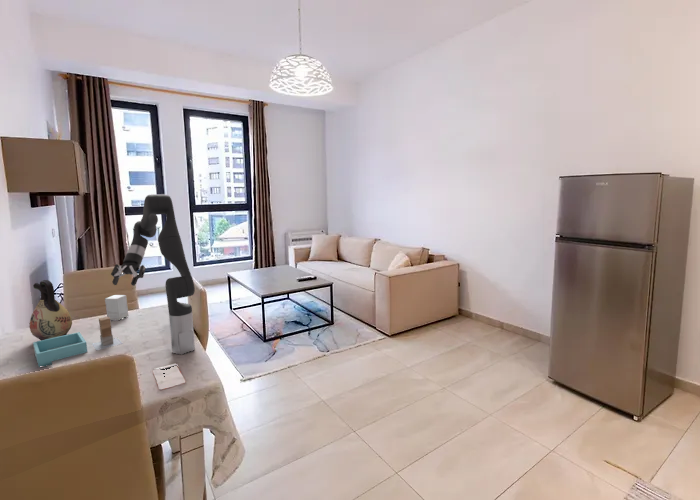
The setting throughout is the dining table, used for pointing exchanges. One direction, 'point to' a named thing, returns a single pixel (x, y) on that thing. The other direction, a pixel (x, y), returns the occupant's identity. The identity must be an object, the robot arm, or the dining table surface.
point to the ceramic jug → (49, 314)
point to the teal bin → (62, 352)
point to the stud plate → (99, 346)
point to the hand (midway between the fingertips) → (123, 284)
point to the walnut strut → (105, 331)
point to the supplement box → (116, 307)
